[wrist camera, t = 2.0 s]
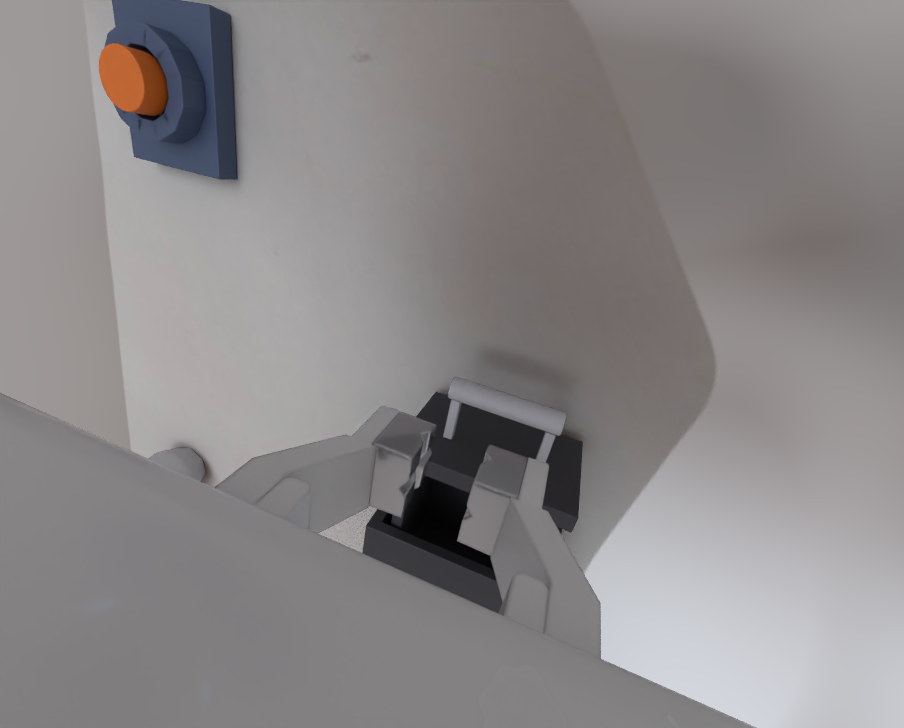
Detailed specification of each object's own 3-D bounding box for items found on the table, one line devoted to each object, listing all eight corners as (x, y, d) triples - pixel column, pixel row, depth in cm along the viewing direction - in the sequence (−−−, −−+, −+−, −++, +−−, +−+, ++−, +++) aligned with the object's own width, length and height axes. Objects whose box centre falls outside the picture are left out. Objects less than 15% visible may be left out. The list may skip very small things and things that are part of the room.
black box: (420, 445, 35) (365, 525, 27) (565, 499, 33) (554, 606, 24) (399, 551, 41) (349, 644, 33) (520, 604, 39) (499, 719, 30)
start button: (122, 47, 27) (93, 38, 25) (166, 55, 26) (138, 47, 24) (130, 111, 28) (104, 106, 27) (172, 120, 28) (147, 116, 26)
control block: (135, -1, 28) (79, -23, 25) (230, 14, 27) (183, -8, 24) (154, 158, 33) (109, 155, 30) (237, 179, 31) (198, 178, 28)
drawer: (446, 340, 30) (401, 386, 23) (604, 390, 28) (606, 457, 21) (412, 508, 37) (370, 579, 30) (534, 557, 35) (519, 647, 28)
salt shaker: (206, 446, 45) (73, 534, 34) (216, 488, 47) (95, 583, 36) (165, 435, 46) (25, 516, 35) (177, 476, 49) (49, 564, 37)
